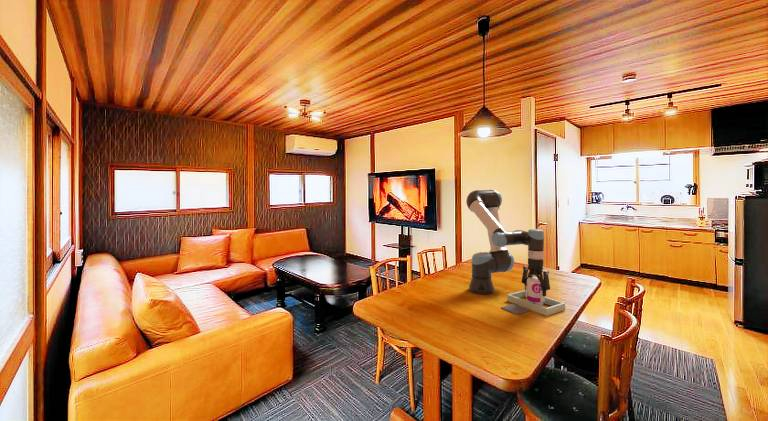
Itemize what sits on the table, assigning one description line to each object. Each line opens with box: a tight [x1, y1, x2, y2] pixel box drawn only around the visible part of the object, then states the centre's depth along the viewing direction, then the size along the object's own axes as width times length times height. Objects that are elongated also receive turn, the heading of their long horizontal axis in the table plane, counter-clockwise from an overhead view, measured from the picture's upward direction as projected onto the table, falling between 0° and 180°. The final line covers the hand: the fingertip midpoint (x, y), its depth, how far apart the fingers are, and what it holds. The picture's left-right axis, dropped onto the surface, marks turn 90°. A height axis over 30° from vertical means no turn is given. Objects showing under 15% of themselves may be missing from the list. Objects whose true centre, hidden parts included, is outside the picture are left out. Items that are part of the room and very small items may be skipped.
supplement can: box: [526, 275, 545, 307], centre depth 165 cm, size 8×8×15 cm
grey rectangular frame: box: [506, 289, 566, 317], centre depth 165 cm, size 24×15×4 cm, turn 28°
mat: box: [501, 303, 532, 316], centre depth 160 cm, size 10×10×1 cm
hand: (535, 299), depth 165 cm, fingers closed on supplement can, 8 cm apart
